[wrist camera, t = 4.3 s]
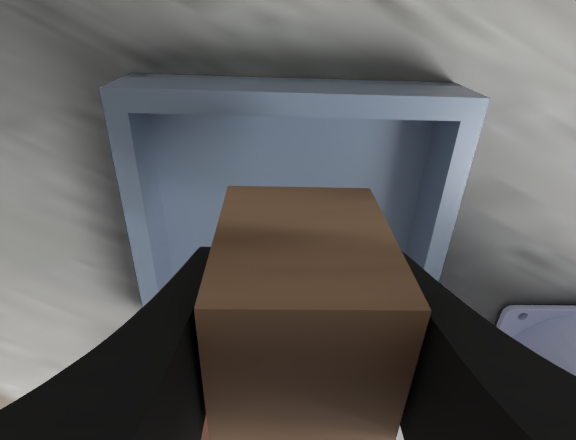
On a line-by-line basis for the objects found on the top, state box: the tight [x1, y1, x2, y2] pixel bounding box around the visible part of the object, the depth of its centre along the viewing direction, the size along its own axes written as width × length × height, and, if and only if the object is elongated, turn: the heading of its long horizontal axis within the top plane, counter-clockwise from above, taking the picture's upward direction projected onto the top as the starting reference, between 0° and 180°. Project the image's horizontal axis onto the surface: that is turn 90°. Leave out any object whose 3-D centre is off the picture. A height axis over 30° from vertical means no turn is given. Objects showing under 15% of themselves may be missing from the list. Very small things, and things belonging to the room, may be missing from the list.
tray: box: [99, 73, 490, 306], centre depth 17 cm, size 13×13×3 cm
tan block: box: [194, 186, 431, 440], centre depth 10 cm, size 4×4×5 cm
